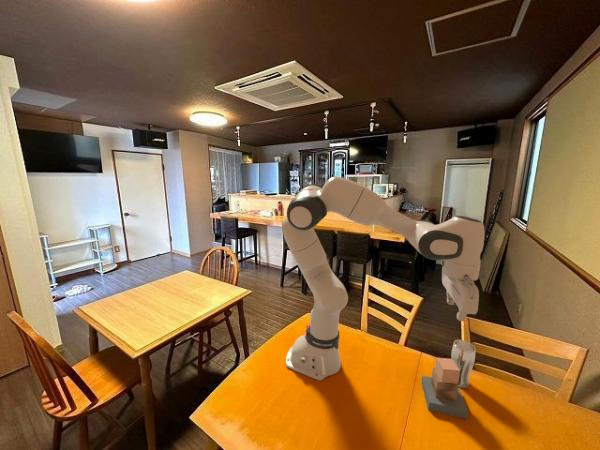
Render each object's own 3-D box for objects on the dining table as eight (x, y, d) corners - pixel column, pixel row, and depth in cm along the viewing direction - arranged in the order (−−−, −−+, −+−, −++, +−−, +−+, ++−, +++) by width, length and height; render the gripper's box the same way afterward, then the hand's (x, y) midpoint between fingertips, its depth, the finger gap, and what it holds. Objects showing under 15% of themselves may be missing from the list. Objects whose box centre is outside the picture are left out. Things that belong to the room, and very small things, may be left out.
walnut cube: (435, 397, 79) (437, 381, 78) (431, 382, 84) (433, 367, 83) (456, 401, 77) (458, 386, 76) (450, 386, 83) (452, 371, 82)
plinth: (428, 409, 78) (429, 402, 77) (421, 382, 88) (422, 375, 87) (467, 419, 74) (468, 411, 74) (455, 389, 85) (456, 382, 84)
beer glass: (474, 391, 84) (480, 353, 81) (452, 387, 86) (458, 351, 83) (465, 375, 91) (470, 340, 88) (445, 372, 92) (449, 338, 89)
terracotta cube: (441, 382, 77) (443, 369, 76) (434, 370, 82) (436, 357, 81) (457, 383, 77) (460, 370, 76) (450, 371, 82) (451, 358, 81)
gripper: (489, 285, 61) (481, 333, 64) (461, 259, 81) (455, 297, 83) (461, 282, 63) (454, 329, 66) (440, 258, 82) (435, 295, 85)
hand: (455, 311), depth 75 cm, fingers open, 8 cm apart
